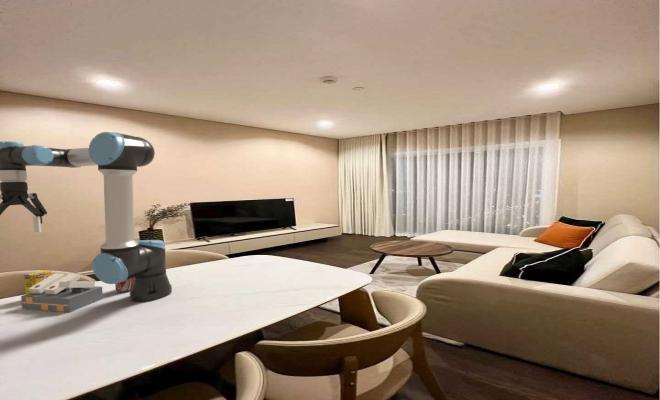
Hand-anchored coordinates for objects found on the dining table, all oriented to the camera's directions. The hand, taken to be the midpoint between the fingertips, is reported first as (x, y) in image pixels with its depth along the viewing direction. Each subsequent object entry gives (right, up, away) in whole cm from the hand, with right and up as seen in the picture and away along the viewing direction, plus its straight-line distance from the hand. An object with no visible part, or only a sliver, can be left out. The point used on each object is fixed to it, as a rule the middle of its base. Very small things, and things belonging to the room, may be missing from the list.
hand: (18, 234), depth 119 cm
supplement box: (+4, -27, +4) cm, 28 cm away
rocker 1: (+13, -19, -1) cm, 23 cm away
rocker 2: (+19, -19, -2) cm, 27 cm away
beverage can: (+35, -26, +13) cm, 45 cm away
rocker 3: (+26, -19, -3) cm, 33 cm away
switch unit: (+20, -27, -1) cm, 33 cm away
